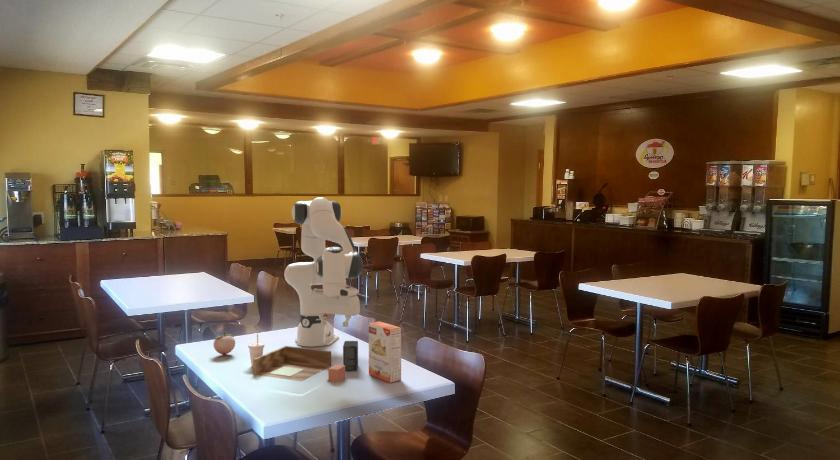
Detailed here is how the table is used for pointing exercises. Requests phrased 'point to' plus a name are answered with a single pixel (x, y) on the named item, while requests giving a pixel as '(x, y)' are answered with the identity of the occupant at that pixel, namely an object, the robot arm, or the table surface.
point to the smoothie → (255, 350)
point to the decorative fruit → (224, 344)
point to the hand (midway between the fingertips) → (334, 325)
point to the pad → (286, 371)
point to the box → (350, 355)
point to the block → (336, 373)
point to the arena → (292, 362)
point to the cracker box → (385, 351)
